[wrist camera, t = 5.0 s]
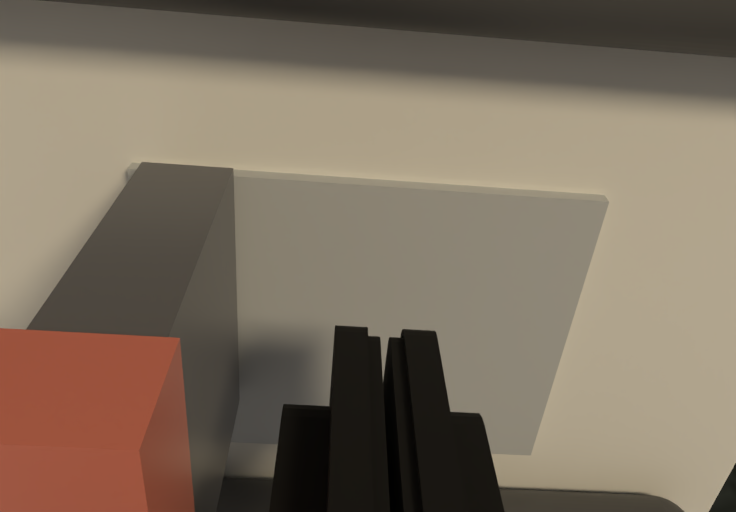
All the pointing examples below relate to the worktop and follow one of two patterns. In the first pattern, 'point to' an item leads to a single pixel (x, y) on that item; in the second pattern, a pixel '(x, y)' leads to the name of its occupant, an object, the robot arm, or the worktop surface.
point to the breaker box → (422, 210)
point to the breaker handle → (130, 359)
